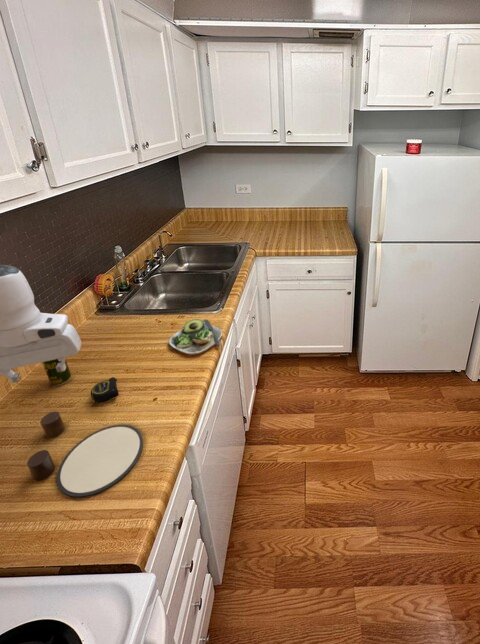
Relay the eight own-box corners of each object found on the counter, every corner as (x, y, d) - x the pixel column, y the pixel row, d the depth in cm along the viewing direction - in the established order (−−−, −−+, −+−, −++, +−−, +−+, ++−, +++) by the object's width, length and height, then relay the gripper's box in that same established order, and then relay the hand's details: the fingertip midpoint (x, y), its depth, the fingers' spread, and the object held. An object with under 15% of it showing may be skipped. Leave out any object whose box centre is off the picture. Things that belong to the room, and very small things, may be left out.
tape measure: (120, 398, 98) (117, 389, 97) (93, 409, 94) (89, 399, 93) (118, 384, 103) (115, 374, 102) (92, 393, 100) (89, 384, 98)
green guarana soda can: (56, 375, 107) (45, 345, 102) (75, 373, 108) (64, 343, 103) (47, 388, 102) (34, 356, 97) (66, 385, 103) (54, 354, 98)
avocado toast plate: (236, 336, 125) (235, 326, 123) (199, 364, 111) (197, 353, 109) (201, 320, 135) (200, 311, 133) (162, 345, 120) (160, 334, 119)
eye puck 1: (44, 440, 86) (37, 426, 84) (49, 427, 89) (43, 414, 87) (62, 435, 87) (56, 421, 85) (66, 423, 90) (61, 409, 88)
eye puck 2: (31, 484, 76) (23, 469, 74) (37, 467, 79) (30, 453, 77) (52, 477, 77) (45, 462, 75) (57, 461, 80) (51, 447, 78)
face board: (45, 511, 70) (44, 509, 70) (69, 439, 86) (68, 437, 86) (139, 479, 76) (139, 477, 76) (145, 417, 92) (145, 415, 92)
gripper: (-45, 349, 72) (-20, 396, 77) (67, 327, 78) (83, 372, 84) (-29, 332, 77) (-7, 378, 82) (74, 313, 84) (89, 356, 89)
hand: (39, 375), depth 83 cm, fingers open, 8 cm apart
